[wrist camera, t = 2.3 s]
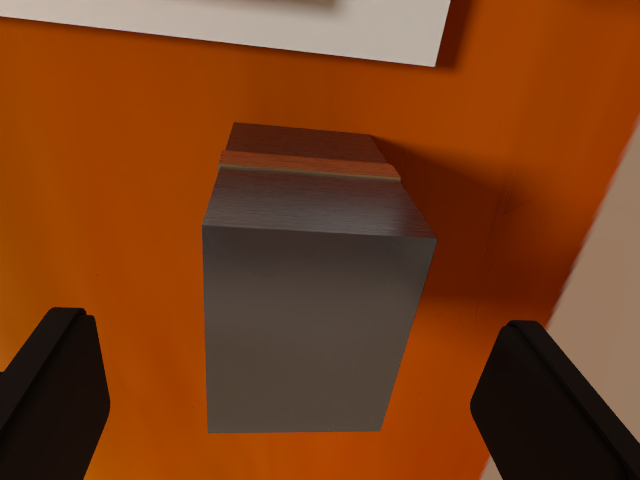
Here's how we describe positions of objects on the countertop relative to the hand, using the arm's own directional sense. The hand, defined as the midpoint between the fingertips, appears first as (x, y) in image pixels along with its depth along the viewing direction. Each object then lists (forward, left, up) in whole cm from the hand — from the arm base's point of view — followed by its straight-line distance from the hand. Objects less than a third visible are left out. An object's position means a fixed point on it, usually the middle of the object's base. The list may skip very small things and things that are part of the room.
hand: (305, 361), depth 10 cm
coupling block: (0, 0, -7) cm, 7 cm away
